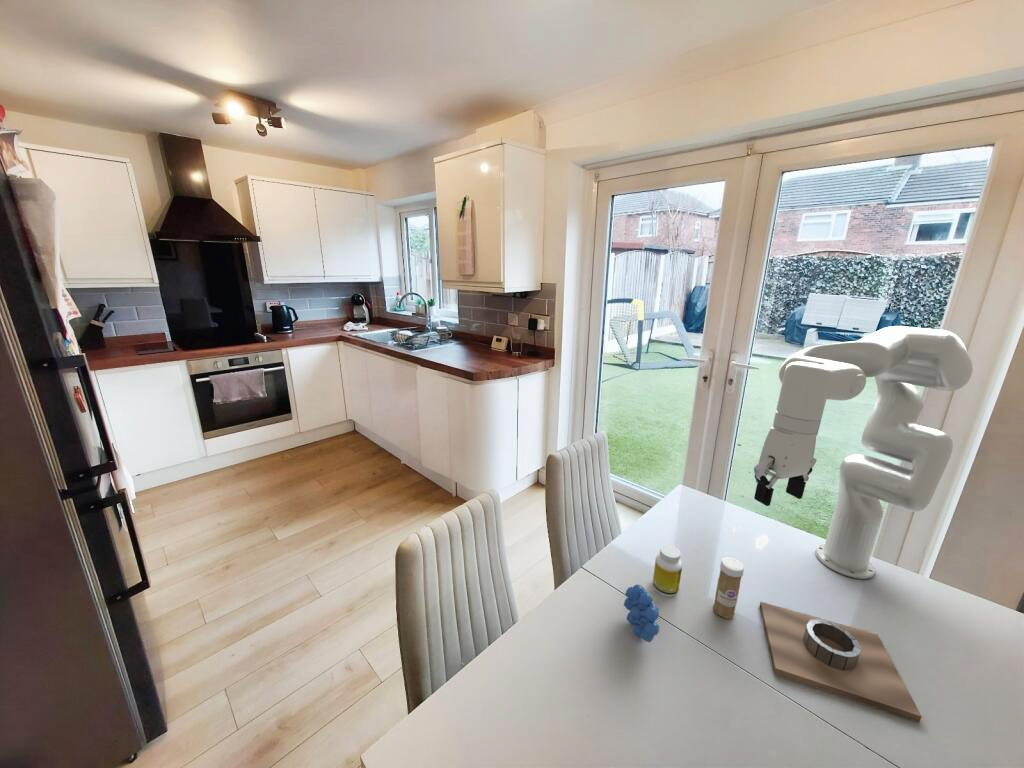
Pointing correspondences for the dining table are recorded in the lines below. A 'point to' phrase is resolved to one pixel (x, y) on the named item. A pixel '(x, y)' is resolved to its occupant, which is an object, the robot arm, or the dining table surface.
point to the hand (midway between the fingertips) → (777, 498)
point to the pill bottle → (667, 571)
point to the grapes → (642, 612)
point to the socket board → (863, 684)
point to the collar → (825, 652)
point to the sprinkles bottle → (728, 587)
